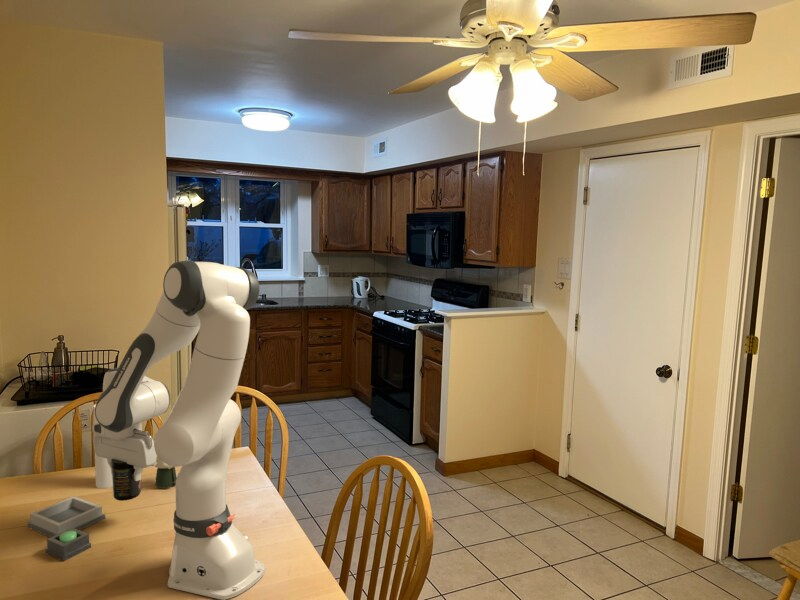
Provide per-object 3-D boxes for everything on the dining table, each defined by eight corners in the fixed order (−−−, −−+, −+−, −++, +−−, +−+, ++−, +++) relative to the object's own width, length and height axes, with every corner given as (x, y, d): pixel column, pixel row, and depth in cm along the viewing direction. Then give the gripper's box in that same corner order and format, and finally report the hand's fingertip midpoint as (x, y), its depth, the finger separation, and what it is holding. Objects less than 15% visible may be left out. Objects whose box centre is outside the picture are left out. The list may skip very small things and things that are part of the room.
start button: (80, 542, 140) (79, 533, 140) (65, 549, 137) (65, 539, 137) (70, 538, 142) (70, 529, 141) (56, 545, 139) (56, 535, 138)
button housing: (91, 547, 141) (90, 534, 141) (63, 561, 135) (62, 547, 134) (73, 539, 144) (72, 526, 144) (45, 553, 138) (44, 539, 138)
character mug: (159, 494, 170) (159, 452, 168) (143, 489, 173) (142, 448, 172) (188, 481, 180) (188, 441, 178) (172, 476, 183) (171, 437, 181)
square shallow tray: (105, 518, 155) (104, 506, 155) (58, 540, 144) (57, 527, 143) (75, 506, 161) (74, 494, 161) (27, 526, 150) (26, 514, 149)
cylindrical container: (110, 489, 172) (108, 409, 169) (90, 486, 174) (87, 407, 171) (126, 479, 179) (124, 402, 176) (106, 477, 181) (104, 400, 178)
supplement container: (142, 498, 151) (140, 460, 150) (113, 503, 148) (111, 464, 147) (140, 488, 157) (138, 451, 156) (112, 493, 154) (110, 456, 153)
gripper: (161, 428, 148) (163, 479, 150) (109, 418, 158) (111, 466, 159) (140, 436, 143) (143, 489, 144) (87, 424, 152) (90, 474, 153)
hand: (126, 477), depth 152 cm, fingers closed on supplement container, 7 cm apart
